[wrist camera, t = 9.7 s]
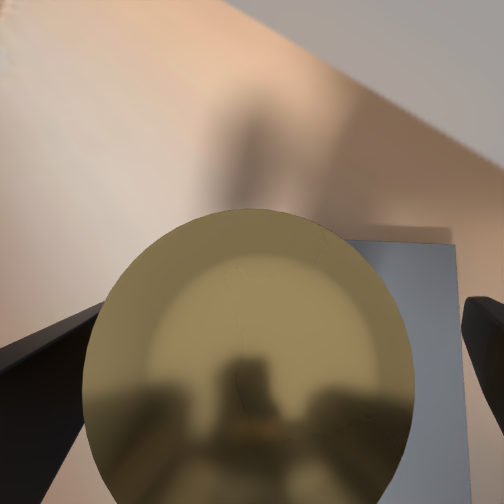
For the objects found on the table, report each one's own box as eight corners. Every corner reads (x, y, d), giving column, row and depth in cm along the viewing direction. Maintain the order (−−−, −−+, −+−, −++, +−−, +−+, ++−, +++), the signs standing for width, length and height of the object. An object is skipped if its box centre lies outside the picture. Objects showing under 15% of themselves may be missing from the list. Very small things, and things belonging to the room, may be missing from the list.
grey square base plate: (465, 584, 14) (496, 629, 11) (147, 504, 17) (117, 526, 14) (447, 253, 18) (466, 232, 16) (199, 240, 21) (182, 222, 19)
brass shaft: (317, 448, 15) (284, 687, 3) (238, 387, 17) (23, 403, 5) (366, 362, 16) (481, 307, 4) (286, 311, 18) (204, 166, 6)
